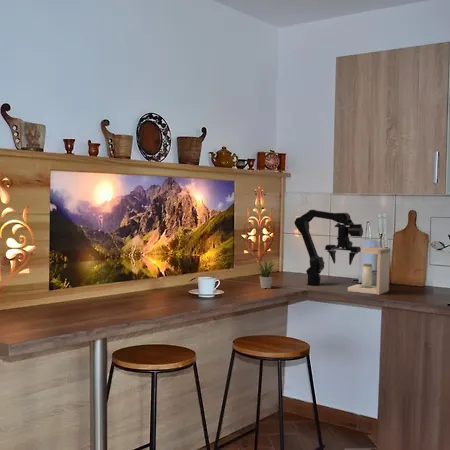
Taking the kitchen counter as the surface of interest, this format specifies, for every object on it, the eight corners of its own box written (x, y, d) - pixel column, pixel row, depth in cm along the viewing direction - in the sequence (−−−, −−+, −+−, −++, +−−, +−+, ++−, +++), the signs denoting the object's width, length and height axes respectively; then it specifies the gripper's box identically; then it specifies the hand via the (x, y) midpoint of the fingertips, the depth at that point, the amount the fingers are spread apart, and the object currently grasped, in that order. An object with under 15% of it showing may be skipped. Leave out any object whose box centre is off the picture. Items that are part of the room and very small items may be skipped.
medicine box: (361, 284, 375) (362, 269, 375) (367, 283, 378) (367, 268, 377) (372, 286, 369) (373, 270, 368) (378, 285, 372) (378, 270, 371)
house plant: (281, 286, 360) (282, 256, 359) (281, 290, 346) (282, 259, 345) (255, 285, 361) (256, 255, 360) (254, 289, 347) (254, 258, 346)
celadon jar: (363, 290, 349) (364, 264, 348) (360, 289, 354) (361, 263, 353) (372, 291, 349) (373, 264, 348) (369, 289, 354) (370, 263, 353)
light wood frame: (346, 291, 349) (348, 248, 347) (357, 287, 362) (359, 246, 361) (379, 294, 340) (380, 250, 338) (388, 290, 353) (390, 248, 352)
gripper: (365, 236, 360) (363, 264, 361) (333, 234, 370) (332, 261, 371) (357, 237, 351) (356, 266, 352) (325, 234, 361) (324, 263, 362)
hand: (342, 264), depth 359 cm, fingers open, 9 cm apart
